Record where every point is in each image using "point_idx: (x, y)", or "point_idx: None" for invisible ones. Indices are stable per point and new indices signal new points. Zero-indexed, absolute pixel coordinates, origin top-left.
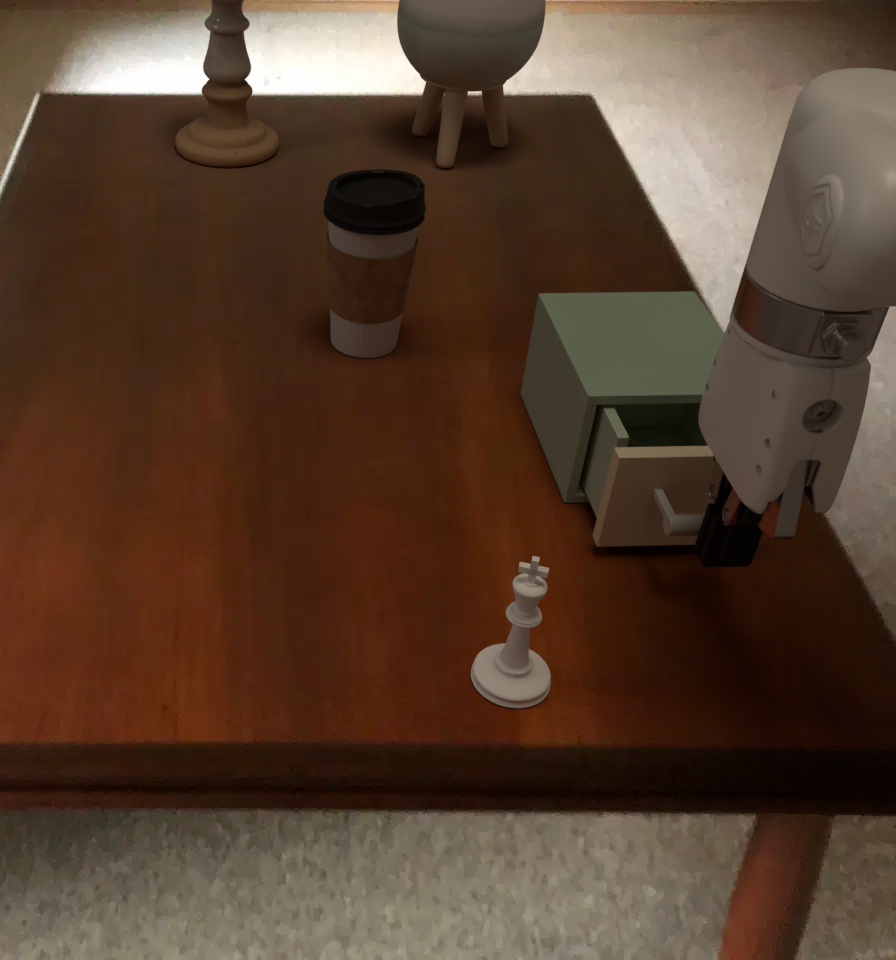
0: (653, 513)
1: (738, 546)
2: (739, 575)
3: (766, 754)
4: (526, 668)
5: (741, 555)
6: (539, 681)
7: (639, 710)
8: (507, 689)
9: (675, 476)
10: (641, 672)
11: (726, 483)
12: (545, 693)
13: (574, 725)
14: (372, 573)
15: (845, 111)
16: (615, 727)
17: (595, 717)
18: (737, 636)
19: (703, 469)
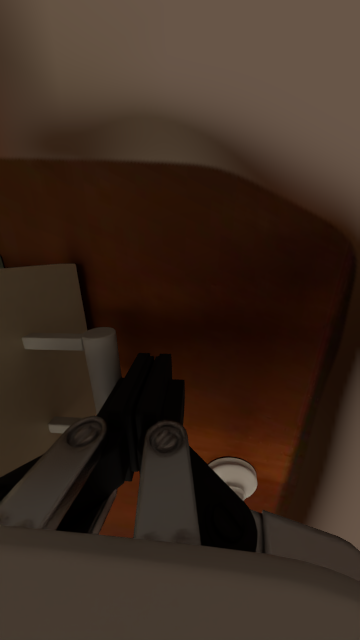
0: (72, 397)
1: (182, 414)
2: (118, 288)
3: (333, 347)
4: (242, 492)
5: (183, 393)
6: (246, 477)
7: (269, 416)
8: (250, 493)
9: (28, 430)
10: (233, 404)
11: (94, 525)
12: (248, 466)
13: (274, 454)
14: (135, 513)
15: None
16: (281, 434)
17: (270, 442)
18: (199, 321)
19: (6, 410)
